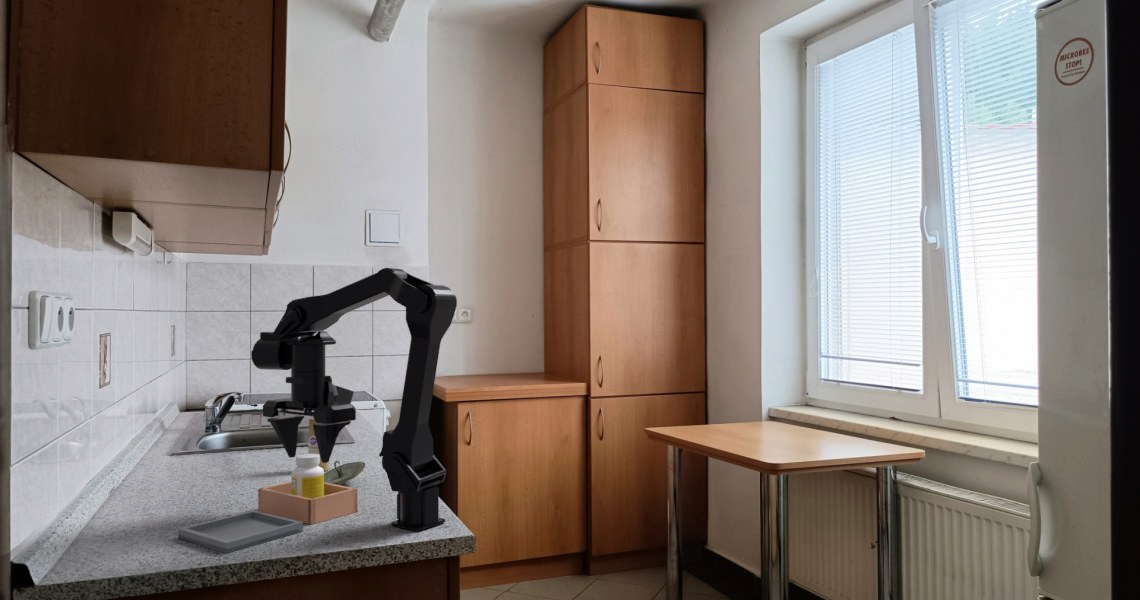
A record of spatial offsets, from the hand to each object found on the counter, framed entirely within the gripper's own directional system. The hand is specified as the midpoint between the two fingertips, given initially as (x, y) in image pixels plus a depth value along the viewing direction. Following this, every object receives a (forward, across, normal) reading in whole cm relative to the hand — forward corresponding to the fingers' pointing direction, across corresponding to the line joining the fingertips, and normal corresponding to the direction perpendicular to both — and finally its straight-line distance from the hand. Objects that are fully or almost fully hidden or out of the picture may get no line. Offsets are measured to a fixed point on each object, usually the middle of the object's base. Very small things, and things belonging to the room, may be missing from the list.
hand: (308, 459), depth 132 cm
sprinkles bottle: (+9, +27, -23) cm, 37 cm away
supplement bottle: (+9, 0, 0) cm, 9 cm away
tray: (+9, -3, +15) cm, 17 cm away
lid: (+9, +12, -17) cm, 23 cm away
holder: (+9, 0, 0) cm, 9 cm away
